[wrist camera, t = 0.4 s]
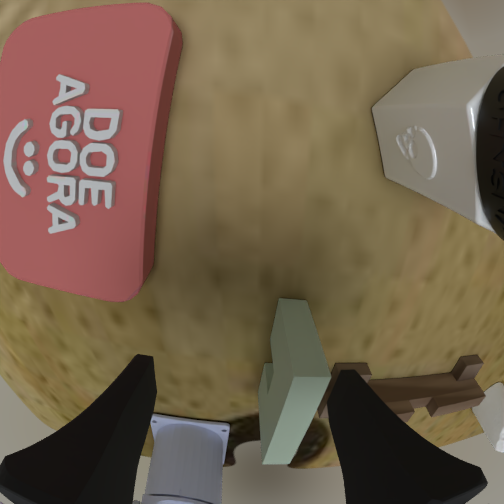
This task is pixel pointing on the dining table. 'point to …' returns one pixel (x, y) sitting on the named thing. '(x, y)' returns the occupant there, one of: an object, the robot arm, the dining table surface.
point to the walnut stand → (420, 389)
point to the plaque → (85, 146)
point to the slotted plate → (290, 381)
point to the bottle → (492, 415)
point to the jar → (449, 136)
